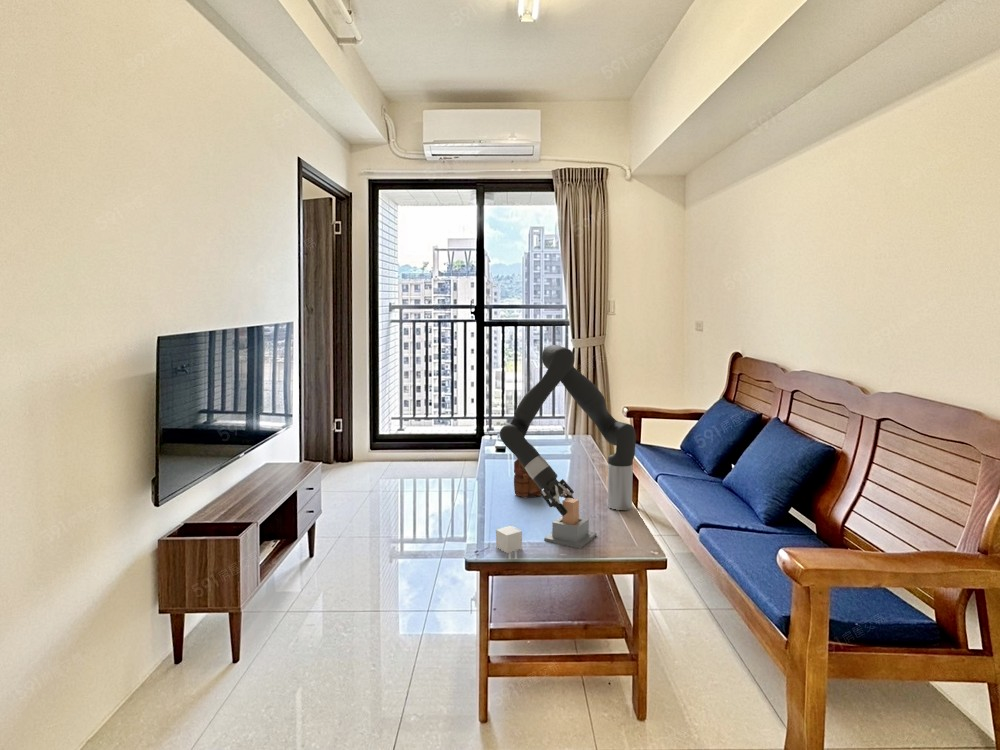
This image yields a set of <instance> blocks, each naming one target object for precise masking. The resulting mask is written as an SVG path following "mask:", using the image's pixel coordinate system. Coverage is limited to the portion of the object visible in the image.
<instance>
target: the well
mask: <svg viewBox="0 0 1000 750" xmlns="http://www.w3.org/2000/svg"><path fill="white" fill-rule="evenodd" d="M589 523H590V519H589V518H585V517H580V516H579V523H577V524H576V525H571V524H567V523H562V515H561V516H560V517H559V518H556V520H554V521H552V524H551V525H552V528H551V529H552V532H551V533H549V534H547V535H546V536H544V538H543V539H544V542H548V543H552V542H553V544H556V545H557V544H558V545H561V546H566V547H571V548H575V549H579V550H581V549H582V548H583V547H584V546H586V545H588V543H589V542H591V541H592V540H594V538H596V537H597V536H598V535H597V532H596V531H595V532H594V531H590V529H589V528H590V525H589ZM596 535H597V536H596ZM595 536H596V537H595ZM590 540H591V541H590ZM585 544H586V545H585Z"/></svg>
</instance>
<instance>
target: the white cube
mask: <svg viewBox="0 0 1000 750" xmlns="http://www.w3.org/2000/svg"><path fill="white" fill-rule="evenodd" d="M496 547H497V549H498V548H499V549H498V550H500V549H501V550H500V551H501V552H503V551H504V552H503V553H505V552H506V553H505V554H509V553H508V552H510V553H512V552H511V551H514V552H516V551H515V550H517V551H519V550H518V549H520V550H522V549H523V531H522V530H521V529H519V528H517V527H514V526H513V525H509V526H505V527H501V528H498V529H495V548H496ZM521 548H522V549H521Z"/></svg>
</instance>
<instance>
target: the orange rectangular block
mask: <svg viewBox="0 0 1000 750" xmlns="http://www.w3.org/2000/svg"><path fill="white" fill-rule="evenodd" d="M573 498H574V497H573ZM573 498H567V499H565V498H564V499H563V500H562V503H561V504H562V505H563V506H564V507H565V509H566V510H567V511H568V513H567V514H565V515H564V516H562V515H561V516H562V523H567V524H571V525H576V524H577V523H579V517H580V513H579V512H580V509H579V507H580V505H579V504H580V503H579V501H580V500H579V499H577V498H574V499H573Z"/></svg>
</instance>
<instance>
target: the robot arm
mask: <svg viewBox="0 0 1000 750" xmlns="http://www.w3.org/2000/svg"><path fill="white" fill-rule="evenodd" d="M541 362H542V363H543V365H544V367H545V368H546V369H547V370H546V372H545V373H544V375H543V377H542V378H541V379H540V380H539V381H538V382H537V383H536V384H535V385H534V386H532V387H531V389H529V390H528V392H527V393H525V395H523V397H522V399H521V400H520V402H519V404H518V405H517V407H516V409H515V410H514V412H513V418H512V420H511V422H510V423H509V424H506V425H504V426H502V427H501V429H500V430H499V437H500V440H501V442H502V443H503V444H504V445H505V447H506V448H507V449H508V451H510V452H511V453H512V454H513V455H514V456H515V457H516V460H517V459H518V460H519V461H520V463H521V464H522V465H523V467H524V468H525V469H526V471H527V473H528V474H529V475H530V477H531V478H532V479H533V481H534V482H535V483H536V484H537V486H538V487H539V488H540V489H542V492H541V493H540V494H541V495H542V496H541V497H542V498H543V500H544V501H545V503H546V504H547V505H548V506H549V507H550V508H555V509H556V510H557V511H558V512H559V514H560V515H561V516H564V515H565V514H567V513H568V511H567V510H566V509H565V507H564V506H563V505H562V503H561V500H560V498H563V499H564V500H565V499H567V498H573V499H575V498H574V495H573V494H574V493H575V492H574V489H572V488H571V486H570V485H569V483H567V481H565V480H564V479H563V478H562V479H561V480H560V481H559V480H558V479H557V478H558V474H557V473H556V472H555V470H554V469H553V468H552V467H551V466H550V464H549V463H548V462H547V460H546V459H545V458H544V457H543V456H541V454H540V453H539V451H538V450H537V449H536V448H535V447H534V446H533V445H532V444H531V443H530V442H529V441H528V440H527V438H525V436H526V434H527V432H528V430H529V428H530V426H531V423H532V422H533V420H534V419H535V418H536V416H537V414H538V412H539V411H540V409H541V408H542V406H543V405H544V403H545V401H546V400H547V399H548V397H549V396H550V395H551V393H552V392H553V391H554V389H556V388H557V386H558V385H559V384H560V383H561V384H562V385H563V386H564V389H566V391H567V392H568V393H569V394H570V396H571V397H572V399H574V401H575V402H576V403H577V405H578V406H579V407H580V408H581V409H582V411H583V412H584V413H585V414H586V415H587V416H588V417H589V419H590V420H591V421H592V422H593V423H594V424H595V426H596V427H597V428H598V431H599V432H600V434H601V435H602V436H603V438H604V439H605V441H606V442H607V443H608V444H610V445H613V446H615V447H616V449H615V453H613V454H610V455H609V456H608V459H607V462H608V463H607V507H608V509H610V508H612V509H611V510H613V509H616V510H615V511H619V510H625V511H630V510H631V509H632V507H633V467H634V466H633V465H634V464H633V463H634V459H635V455H636V444H637V443H636V442H637V436H636V435H637V434H636V429H635V428H634V426H633V425H632V424H630V423H625V422H621V421H618V420H617V419H615V418H614V416H613V415H611V414H610V412H609V411H608V409H607V405H606V399H605V396H604V395H603V394H602V392H601V391H600V390H599V388H598V387H597V386H596V385H595V384H594V383H593V381H592V380H590V379H589V378H588V377H586V376H585V375H584V374H582V373H581V372H580V371H579V370H578V369H577V368H575V367H574V364H575V355H574V353H573V351H572V350H571V349H570V348H567V347H565V346H561V345H558V344H550V345H547V346H546V347H544V349H542V353H541ZM629 509H630V510H629Z"/></svg>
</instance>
